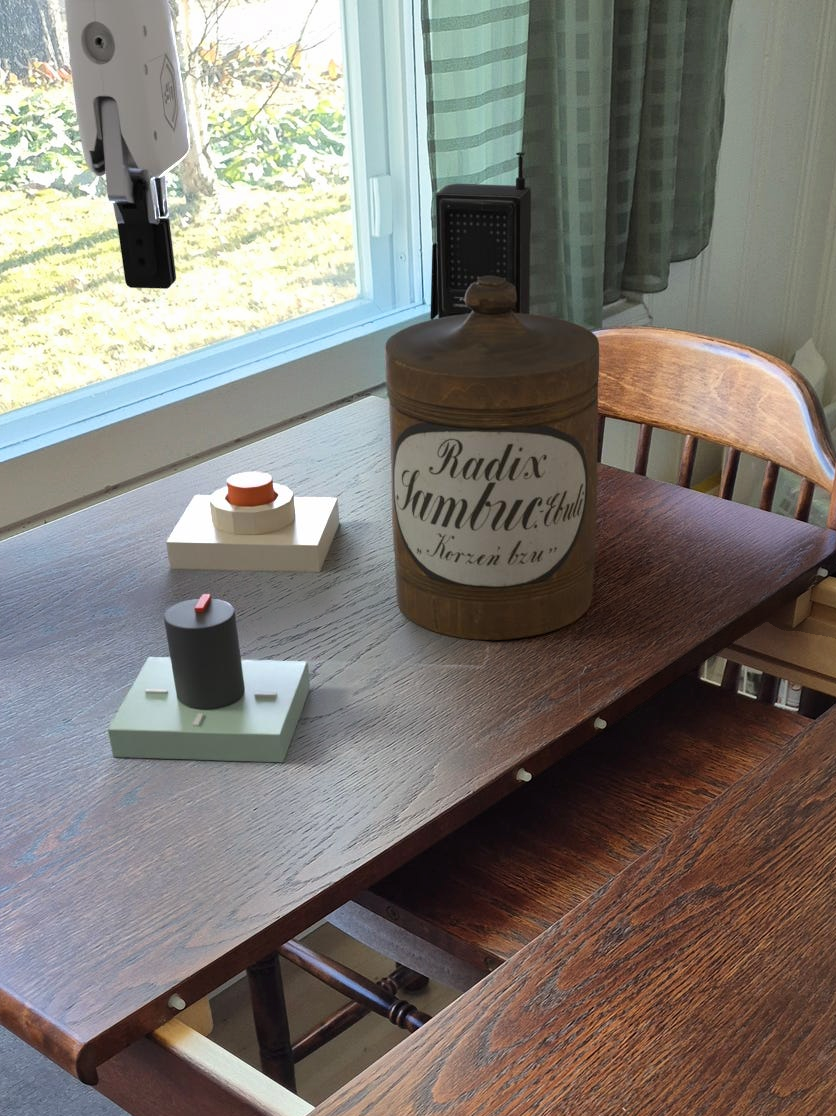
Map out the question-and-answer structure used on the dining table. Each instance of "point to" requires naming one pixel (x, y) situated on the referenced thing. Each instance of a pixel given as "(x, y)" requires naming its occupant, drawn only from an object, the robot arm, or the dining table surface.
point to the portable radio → (480, 242)
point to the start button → (250, 489)
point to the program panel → (212, 716)
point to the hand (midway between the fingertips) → (151, 284)
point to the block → (254, 533)
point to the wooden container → (493, 468)
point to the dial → (204, 652)
